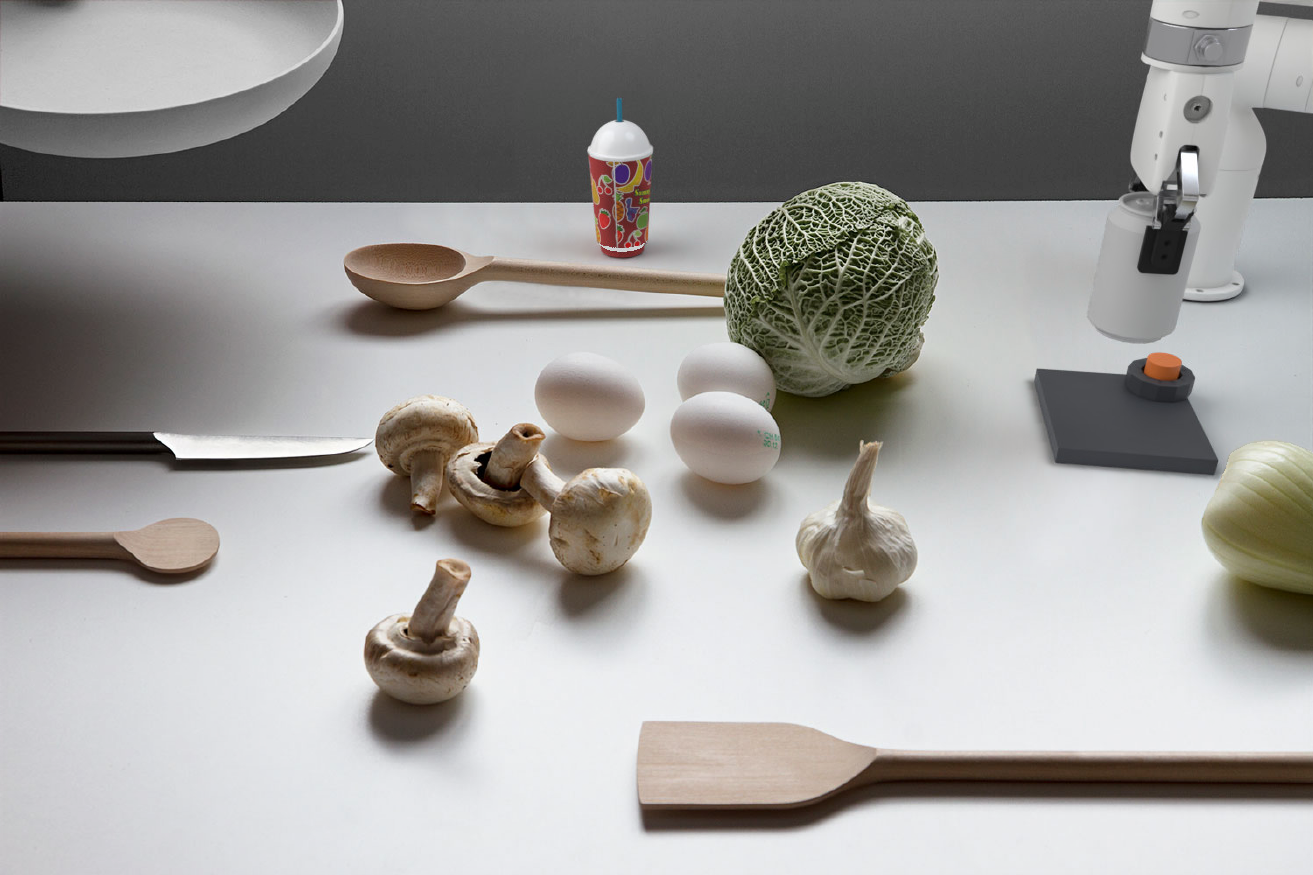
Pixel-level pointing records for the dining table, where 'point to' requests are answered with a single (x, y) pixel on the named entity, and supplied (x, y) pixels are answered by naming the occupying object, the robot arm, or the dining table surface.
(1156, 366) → the tare button
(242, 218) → the dining table surface
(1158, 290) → the can
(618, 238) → the smoothie
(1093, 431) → the grey flat slab
